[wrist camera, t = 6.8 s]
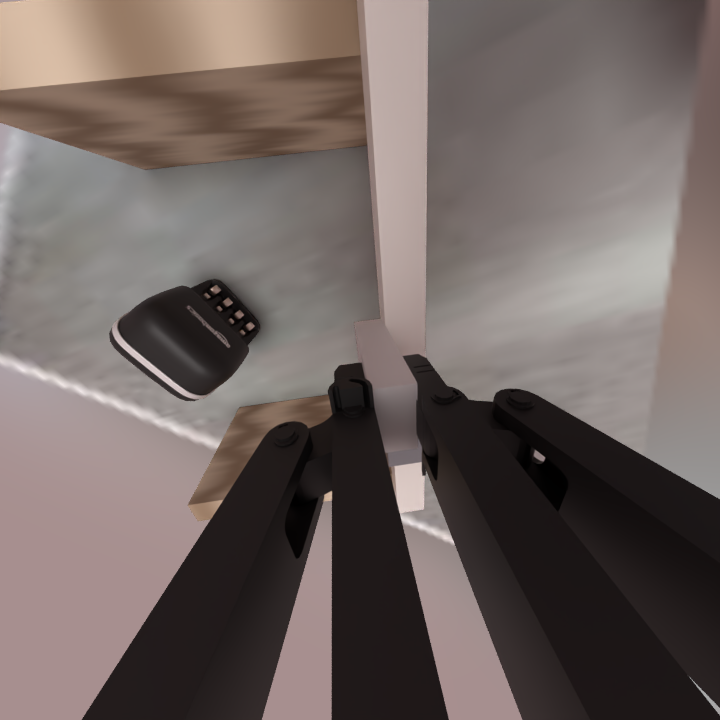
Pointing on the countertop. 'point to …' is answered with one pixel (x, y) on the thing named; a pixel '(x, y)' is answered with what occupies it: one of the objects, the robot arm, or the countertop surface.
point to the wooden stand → (190, 111)
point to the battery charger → (187, 338)
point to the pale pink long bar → (398, 186)
